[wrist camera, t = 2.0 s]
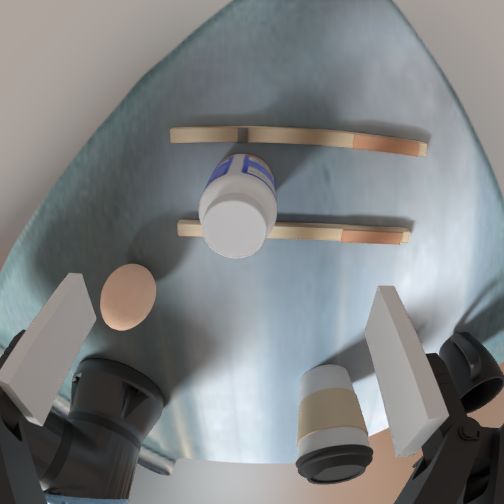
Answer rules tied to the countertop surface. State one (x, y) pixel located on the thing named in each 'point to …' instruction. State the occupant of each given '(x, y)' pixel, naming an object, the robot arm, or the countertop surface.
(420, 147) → the beam track
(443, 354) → the mug
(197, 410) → the countertop surface
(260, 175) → the pill bottle
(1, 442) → the robot arm
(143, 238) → the countertop surface
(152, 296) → the egg
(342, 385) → the coffee cup
